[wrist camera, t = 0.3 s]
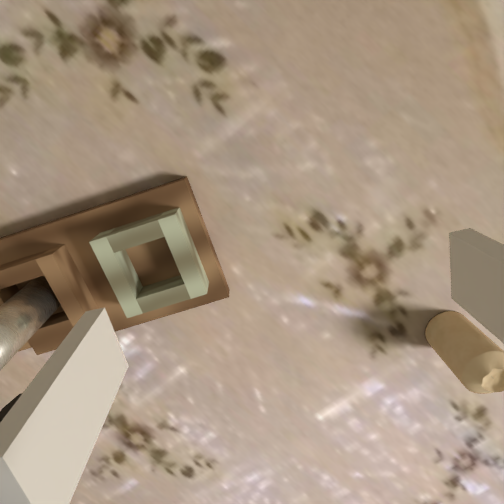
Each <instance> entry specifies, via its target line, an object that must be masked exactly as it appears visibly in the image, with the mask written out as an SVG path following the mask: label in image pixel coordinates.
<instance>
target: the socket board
mask: <svg viewBox="0 0 504 504" xmlns="http://www.w3.org/2000/svg"><path fill="white" fill-rule="evenodd" d="M40 276H45V278H46V279H47V281H48V283H49V285H50V287H51V288H52V290H53V292H54V294H55V295H56V297H57V299H58V301H59V303H60V304H61V305H60V306H59V307H58V308H57V310H56V311H55V312H54V313H53V314H52V315H51V316H50V317H49V318H48V319H47V320H46V321H45V323H44V324H43V325H42V326H41V327H40V328H39V329H38V330H37V331H36V332H35V333H34V335H33V336H32V337H31V338H30V339H29V340H28V341H27V342H26V343H25V344H24V345H23V346H22V348H21V349H20V350H19V351H21V350H25V349H28V348H31V347H32V348H33V349H34V351H35V353H36V354H37V355H39V354H42V353H46V352H49V351H52V350H56V349H57V348H58V347H59V345H60V344H61V343H62V341H63V340H64V339H65V338H66V336H67V335H68V334H69V332H70V331H71V330H72V328H73V327H74V326H75V325H76V323H77V322H78V321H79V319H80V318H81V317H82V315H83V314H84V313H85V312H86V311H90V310H95V309H100V308H104V307H105V309H106V312H107V314H108V317H109V319H110V322H111V324H112V326H113V329H114V331H118V330H122V329H125V328H128V327H132V326H135V325H138V324H141V323H145V322H148V321H151V320H155V319H158V318H161V317H165V316H168V315H171V314H175V313H178V312H181V311H184V310H188V309H191V308H194V307H198V306H201V305H204V304H208V303H211V302H214V301H217V300H221V299H224V298H227V297H229V287H228V285H227V282H226V279H225V277H224V274H223V271H222V269H221V266H220V263H219V261H218V258H217V255H216V253H215V250H214V247H213V245H212V242H211V239H210V237H209V234H208V231H207V229H206V226H205V223H204V221H203V218H202V215H201V213H200V210H199V207H198V205H197V202H196V199H195V197H194V194H193V191H192V189H191V186H190V183H189V181H188V178H187V177H184V178H181V179H178V180H175V181H172V182H169V183H166V184H163V185H160V186H157V187H154V188H151V189H148V190H145V191H142V192H139V193H136V194H132V195H129V196H126V197H123V198H120V199H117V200H114V201H111V202H108V203H105V204H102V205H99V206H96V207H93V208H90V209H87V210H84V211H81V212H78V213H75V214H72V215H69V216H66V217H63V218H60V219H57V220H54V221H51V222H47V223H44V224H41V225H38V226H35V227H32V228H29V229H26V230H23V231H20V232H17V233H14V234H11V235H8V236H5V237H2V238H0V306H1V305H2V304H4V303H5V302H6V301H7V300H9V299H10V298H11V297H12V296H13V295H15V294H16V293H17V292H18V291H20V290H21V289H22V288H23V287H25V286H26V285H27V284H28V283H29V282H31V281H32V280H33V279H35V278H37V277H40Z"/></svg>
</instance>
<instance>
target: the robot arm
mask: <svg viewBox="0 0 504 504" xmlns="http://www.w3.org/2000/svg"><path fill="white" fill-rule="evenodd" d="M449 240H450V268H451V296H452V299H453V300H454V301H455V302H456V303H457V304H459V305H460V306H461V307H462V308H463V309H464V310H466V311H467V312H468V313H469V314H470V315H471V316H473V317H474V318H475V319H476V320H477V321H478V322H480V323H481V324H482V325H483V326H484V327H485V328H486V329H488V330H489V331H490V332H491V333H492V334H493V335H495V336H496V337H497V338H498V339H499V340H500V341H502V342H503V343H504V245H503V244H501V243H499V242H497V241H495V240H493V239H491V238H489V237H487V236H485V235H483V234H481V233H479V232H477V231H475V230H473V229H471V228H469V229H464V230H460V231H455V232H450V233H449ZM127 369H128V364H127V361H126V359H125V356H124V354H123V351H122V349H121V346H120V344H119V341H118V339H117V336H116V334H115V331H114V329H113V326H112V324H111V322H110V319H109V317H108V314H107V312H106V309H105V307H104V308H100V309H95V310H90V311H86V312H85V313H84V314H83V315H82V317H81V318H80V319H79V321H78V322H77V323H76V325H75V326H74V327H73V328H72V330H71V331H70V332H69V334H68V335H67V336H66V338H65V339H64V340H63V341H62V343H61V344H60V345H59V347H58V348H57V349H56V351H55V352H54V353H53V354H52V356H51V357H50V358H49V360H48V361H47V362H46V364H45V365H44V366H43V368H42V369H41V370H40V371H39V373H38V374H37V375H36V377H35V378H34V379H33V381H32V382H31V383H30V384H29V386H28V387H27V388H26V390H25V391H24V392H23V393H22V394H19V395H18V396H17V397H15V398H14V399H13V400H12V401H11V402H10V403H8V404H7V405H6V406H5V407H4V408H3V409H2V410H1V411H0V504H69V503H70V501H71V499H72V496H73V494H74V492H75V489H76V487H77V485H78V482H79V480H80V478H81V475H82V473H83V471H84V468H85V466H86V464H87V461H88V459H89V457H90V454H91V452H92V450H93V447H94V445H95V443H96V440H97V438H98V436H99V434H100V431H101V429H102V427H103V424H104V422H105V420H106V417H107V415H108V413H109V410H110V408H111V406H112V403H113V401H114V399H115V396H116V394H117V392H118V389H119V387H120V385H121V382H122V380H123V378H124V375H125V373H126V371H127Z"/></svg>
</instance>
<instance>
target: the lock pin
mask: <svg viewBox="0 0 504 504" xmlns="http://www.w3.org/2000/svg"><path fill="white" fill-rule="evenodd" d="M60 305H61V304H60V303H59V301H58V299H57V297H56V295H55V294H54V292H53V290H52V288H51V287H50V285H49V283H48V281H47V279H46V278H45V276H40V277H37V278H35V279H33V280H32V281H31V282H29V283H28V284H27V285H26V286H25V287H23V288H22V289H21V290H20V291H18V292H17V293H16V294H15V295H13V296H12V297H11V298H10V299H9V300H7V301H6V302H5V303H4V304H2V305H1V306H0V370H1V369H2V368H3V367H4V366H5V365H6V364H7V363H8V362H9V361H10V359H11V358H12V357H13V356H14V355H15V354H16V353H17V352H18V351H19V350H20V349H21V348H22V346H23V345H24V344H25V343H26V342H27V341H28V340H29V339H30V338H31V337H32V336H33V335H34V333H35V332H36V331H37V330H38V329H39V328H40V327H41V326H42V325H43V324H44V323H45V321H46V320H47V319H48V318H49V317H50V316H51V315H52V314H53V313H54V312H55V311H56V310H57V308H58V307H59V306H60Z"/></svg>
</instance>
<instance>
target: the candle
mask: <svg viewBox="0 0 504 504" xmlns="http://www.w3.org/2000/svg"><path fill="white" fill-rule="evenodd" d="M425 336H426V339H427V341H428V343H429V344H430V345H431V347H432V348H433V349H434V350H435V351H436V353H437V354H438V355H439V356H440V357H441V359H442V360H443V361H444V362H445V363H446V365H447V366H448V367H449V368H450V369H451V371H452V372H453V373H454V374H455V375H456V377H457V378H458V379H459V380H460V381H461V383H462V384H463V385H464V386H465V387H466V388H467V389H468V390H469V391H471V392H474V393H479V394H486V393H493V392H502V391H504V351H503V350H502V349H501V348H500V347H498V346H497V345H496V344H495V343H494V342H493V341H492V340H491V339H490V338H488V337H487V336H486V335H485V334H484V333H483V332H482V331H481V330H479V329H478V328H477V327H476V326H475V325H474V324H473V323H472V322H470V321H469V320H468V319H467V318H466V317H465V316H463V315H462V314H460V313H458V312H455V311H446V312H442V313H440V314H438V315H436V316H435V317H433V318H432V319H431V320H430V322H429V323H428V325H427V327H426V330H425Z"/></svg>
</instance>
